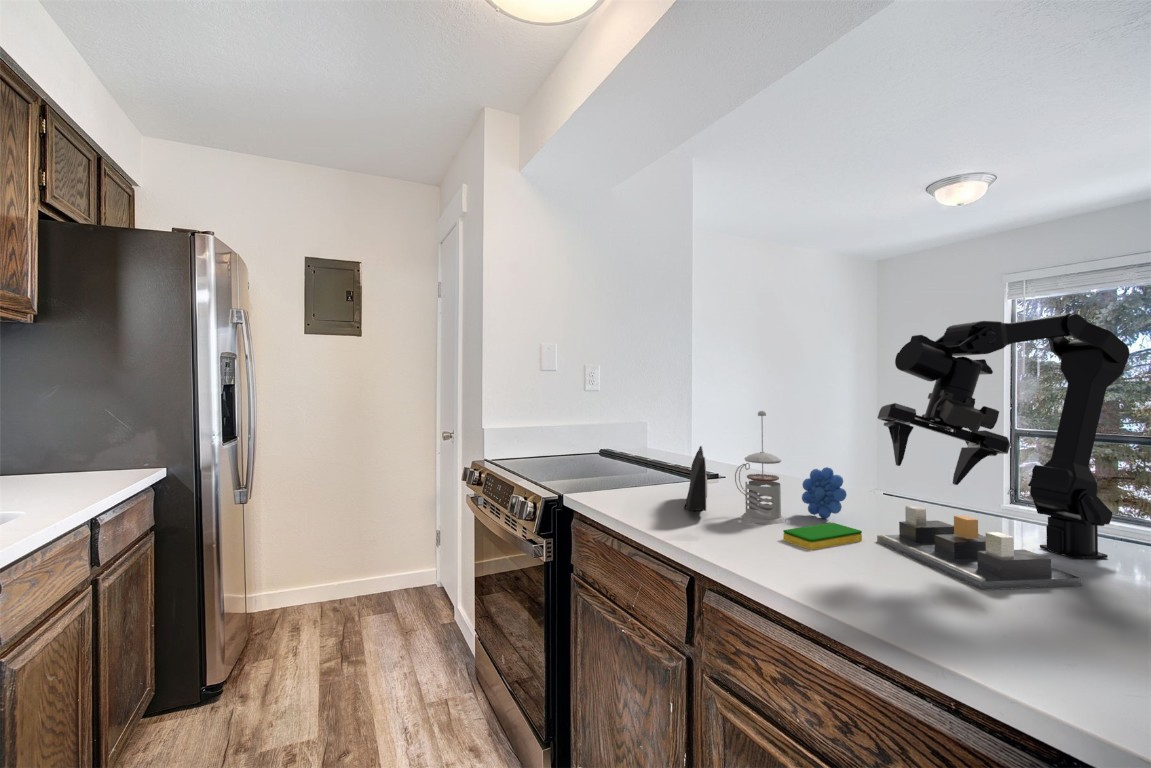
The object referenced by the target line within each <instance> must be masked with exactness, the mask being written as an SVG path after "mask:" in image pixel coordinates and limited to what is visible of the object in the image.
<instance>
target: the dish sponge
mask: <svg viewBox="0 0 1151 768" xmlns="http://www.w3.org/2000/svg"><path fill="white" fill-rule="evenodd" d="M862 531H863V530H860V529H857V528H853V527H849V526H846V525H843V524H839V523H835V522H829V523H822V524H815V525H808V526H802V527H795V528H790V529H788V528H787V529H783V533H782V534H783V537H782V539H783V540H782V541H785V542H788V543H789V544H790V543H791V544H793V545H796V546H799V547H802V548H805V549H807V550H812V551H813V550H820V549H824V548H830V547H835V546H842V545H846V544H852V543H857V542H858V543H859V542H862V541H863V539H862V538H863V535H862V534H863V532H862Z"/></svg>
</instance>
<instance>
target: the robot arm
mask: <svg viewBox="0 0 1151 768" xmlns="http://www.w3.org/2000/svg"><path fill="white" fill-rule="evenodd" d="M1067 337H1072V338H1074V339H1075V340H1071V341H1070V340H1069V339H1068V338H1067ZM1043 339H1047V340H1048V342H1049V349H1050V351H1051V352H1052V354H1054V355H1055V356H1056V357H1057V358H1058V359H1060V372H1061V373H1062V375H1063V377H1064V379H1065V381H1066V382H1067V389H1066V393H1065V396H1064V400H1063V405H1062V410H1061V412H1060V413H1061V414H1060V419H1059V422H1058V428H1057V430H1056V431H1057V432H1056V435H1055V440H1054V444H1053V449H1052V453H1051V457H1050V459H1049V460H1048V461H1047V462H1046V463H1044V464H1043V465H1037V464H1036V465H1034V466H1033V467H1032V469H1031V472H1032V473H1031V478H1030V481H1029V482H1028V485H1027V486H1028V487H1030V489H1029V490H1030V491H1029V494H1030V497H1031V499H1032V502H1033V504H1034V506H1035V510H1036V513H1037V514H1039V515H1045V516H1047V525H1046V532H1045V533H1046V544H1039V548H1040V549H1043V550H1047V551H1049V552H1053V553H1055V554H1059V555H1062V556H1065V557H1068V558H1072V559H1075V560H1076V559H1077V560H1078V559H1101V558H1102V559H1105V558H1106V559H1107V558H1108V554H1107V553H1103V552H1099V542H1098V541H1099V539H1098V538H1099V536H1098V533H1099V531H1098V528H1099V527H1104V526H1105V525H1110V523H1111V520H1112V517H1113V511H1112V510H1111V509H1110V508H1108V506H1107V505H1106V504H1105V503H1104V502H1103V501H1102V499H1100V498H1099V497H1098V496H1097V494H1098V482H1097V480H1096V477H1095V476H1094V475H1093V471H1091V468H1090V462H1091V458H1092V453H1093V448H1094V445H1095V439H1096V436H1097V431H1098V427H1099V423H1100V422H1099V421H1100V418H1101V414H1102V409H1103V405H1104V400H1105V395H1106V391H1107V389H1108V387H1110V386H1111V385H1112V384H1113V383H1114V382H1115V381H1117V379H1119V378H1120V377H1121V376H1122V375H1123V374H1124V370H1125V368H1126V365H1127V363H1128V360H1129V357H1130V348H1129V347H1128V345H1127V344H1126V343H1125V342H1124V341H1123V340H1121V339H1120V338H1119V337H1118V336H1117V335H1116V334H1114V333H1113V332H1112V331H1111V330H1109V329H1106V328H1104V327H1101V326H1098V325H1096V324H1094V323H1091V322H1089V321H1087V320H1086V319H1085V318H1084V317H1082V315H1079V314H1078V313H1077V314H1076V313H1074V312H1073V313H1071V312H1070V313H1063V314H1056V315H1049V316H1046V317H1043V318H1035V319H1029V320H1023V321H1014V322H1010V323H1009V322H1007V323H1006V322H1001V321H993V320H981V321H980V320H979V321H973V322H972V321H971V322H967V323H965V322H964V323H959V324H953V325H950V326H948V327H947V328H946V330H945V331H944V334H943V335H941V336H940V337H939V338H938V339H936V340H933V339H930V338H929V337H928V336H926V335H923V334H916V335H912V336H911V337H910V339H909V341H908V342H907V343H905V344H904V345H903V346H902V348H901V349H900V350H899V352H897V353H896V356H895V359H894V360H895V361H894V364H895V367H896V368H897V369H898V370H899V371H901V372H904V373H905V374H909V375H911V376H913V377H916V378H919V379H921V380H924V381H927V382H934V386H933V389H932V391H931V392H929V393H928V396H927V399H928V404H927V407H926V411H925V414H921V415H918V414H917V410H916V408H912V407H909V406H907V405H903V404H900V403H897V402H894V403H889V404H885V405H883V406H881V407H880V410H879V412H878V415H877V417H876V418H877V419H878V420H881V421H884V422H883V426H884V427H887V428H888V430H889V431H888V432H889V435H890V438H891V441H892V442H891V443H892V448H893V454H894V463H895V466H897V467H900V466H901V465H902V463H903V461H904V457H905V452H906V449H907V446H908V442H909V440H908V439H909V437H910V435H911V434H912V431H913V430H914V427H915V426H916V427H919V428H922V429H925V430H929V431H932V432H936V433H938V434H941V435H944V436H947V437H950V438H955V439H958V440H960V441H964V442H965V444H966V446H967V447H961V448H960V452H959V456H958V460H957V462H956V466H955V468H954V473H953V478H952V485H955V486H957V485H959V484H961V482H962V481H963V479H964V478H965V477H966V476H967V475H968V474H969V473H970V472H971V470H973V468H974V467H975V466H976V465H977V464H978V463H980V462H981V461H982V460H983V459H985V458H987V457H997V455H998V454H999V455H1001V454H1002V455H1003V454H1004V455H1008V453H1009V450H1010V446H1011V443H1010V440H1009V438H1008V436H1005V435H1002V434H999V433H998V434H997V433H995V432H992V431H989V430H993V428H994V427H995V426H996V424H997V422H998V419H999V415H1000V411H999V410H998V409H995V408H992V407H988V406H984V405H983V406H982V407H981V408H980V409H978V408H976V407H975V405H976V398H974V397H973V396H974V394H975V391H976V387H977V384H978V381H979V377H980V375H992V374H993V373H994V371H993V369H992V367H991V366H989V364H988V363H987V361H986V359H972V358H969V357H967V356H975V355H977V356H978V355H989V354H991V353H995V352H998V351H1000V350H1003V349H1004V348H1006V347H1007V346H1009V345H1012V344H1016V343H1022V342H1023V343H1024V342H1030V341H1038V340H1043ZM963 428H964V429H963ZM980 428H985V430H980ZM986 429H987V430H986Z"/></svg>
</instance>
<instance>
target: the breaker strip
mask: <svg viewBox="0 0 1151 768" xmlns="http://www.w3.org/2000/svg"><path fill="white" fill-rule="evenodd" d="M904 511H905V514H904V515H905V521H903V520H902V521H899V522H898V527H899V528H898V529H899V530H898V532H899V534H877V535H876V541H877V542H878V543H880V544H882V545H884V546H886V547H888V548H891V549H893V550H895V551H897V552H899V553H902V555H906V556H908V557H911V558H912V559H915V560H916V561H918V562H921V563H923V564H926V565H928V566H929V567H932V568H933V569H936V570H938V571H940V572H942V573H945V574H946V575H948V576H951V577H953V578H955V579H957V580H960V581H962V582H965V583H966V584H968V585H970V586H973V587H975V588H977V589H979V590H981V591H983V590H984V591H985V590H986V591H987V590H989V591H990V590H1012V589H1011V588H1013V589H1014V590H1015V588H1017V589H1035V588H1036V589H1037V588H1038V589H1039V588H1061V587H1062V588H1063V587H1065V588H1067V587H1068V588H1069V587H1082V586H1083V578H1082V577H1080V576H1076V575H1073V574H1071V573H1068V572H1065V571H1063V570H1059V569H1058V568H1054V567H1052V558H1050V557H1049V556H1048V557H1047V556H1044V555H1042V554H1038V553H1037V552H1033V551H1030V550H1026V549H1014V547H1015V545H1014V544H1015V542H1014V540H1015V538H1014V536H1011V535H1008V534H1004V533H1002V532H999V531H989V532H987V531H986V532H985V535H982V534H979V533H978V538H974V539H967V538H964V537H961V536H958V535H955V534H954V524H950V523H946V522H943V521H940V520H927V509H926V508H925V507H924V508H923V507H920V506H917V505H905V507H904Z"/></svg>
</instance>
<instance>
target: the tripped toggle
mask: <svg viewBox="0 0 1151 768" xmlns="http://www.w3.org/2000/svg"><path fill="white" fill-rule="evenodd" d="M953 526H954V534H955V535H958V536H961V537H964V538H967V539H974V538H978V534H979V519H977V518H974V517H970V516H967V515H953Z"/></svg>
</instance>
